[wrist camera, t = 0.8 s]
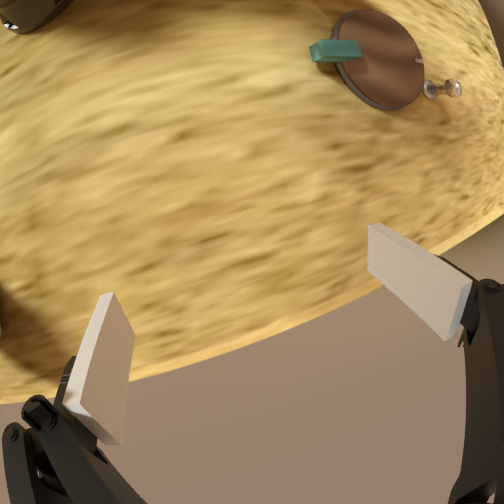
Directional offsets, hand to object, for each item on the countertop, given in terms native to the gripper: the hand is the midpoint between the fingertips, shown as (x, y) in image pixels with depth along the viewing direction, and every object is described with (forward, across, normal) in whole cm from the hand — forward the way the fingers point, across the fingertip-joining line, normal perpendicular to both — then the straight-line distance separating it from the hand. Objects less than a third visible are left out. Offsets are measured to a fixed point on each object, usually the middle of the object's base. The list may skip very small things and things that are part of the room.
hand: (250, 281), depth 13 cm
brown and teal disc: (+25, +27, +16) cm, 40 cm away
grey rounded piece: (+26, +41, +12) cm, 50 cm away
